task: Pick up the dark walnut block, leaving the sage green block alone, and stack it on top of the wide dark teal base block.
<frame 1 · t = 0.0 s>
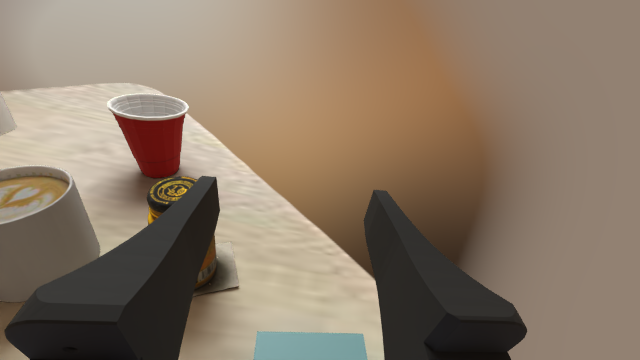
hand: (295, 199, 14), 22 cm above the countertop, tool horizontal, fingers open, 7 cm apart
condiment: (198, 271, 35), on the countertop
plastic cup: (162, 169, 51), on the countertop
coffee mug: (27, 270, 32), on the countertop
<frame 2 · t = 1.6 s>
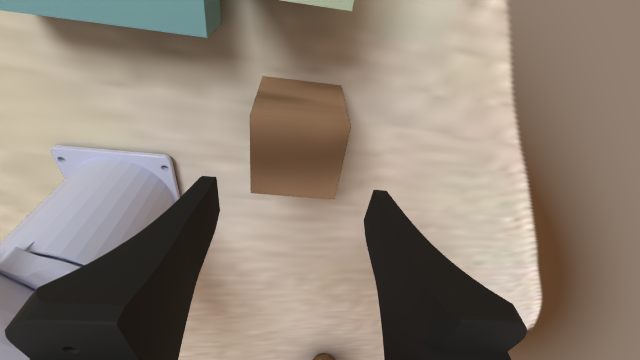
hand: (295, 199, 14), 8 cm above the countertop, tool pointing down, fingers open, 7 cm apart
walnut block: (298, 116, 20), on the countertop
brown round lump: (326, 352, 46), on the countertop
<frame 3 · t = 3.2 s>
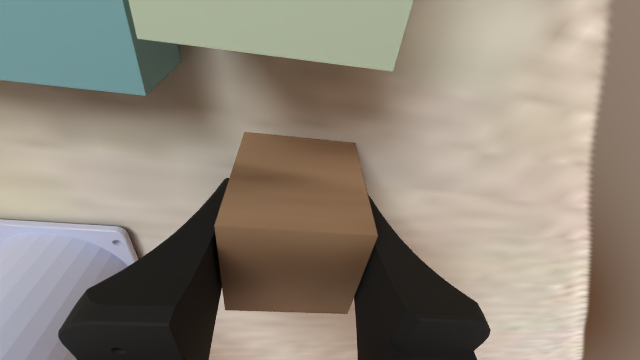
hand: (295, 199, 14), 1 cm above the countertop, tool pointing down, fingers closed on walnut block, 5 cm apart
walnut block: (296, 180, 15), on the countertop, touching gripper
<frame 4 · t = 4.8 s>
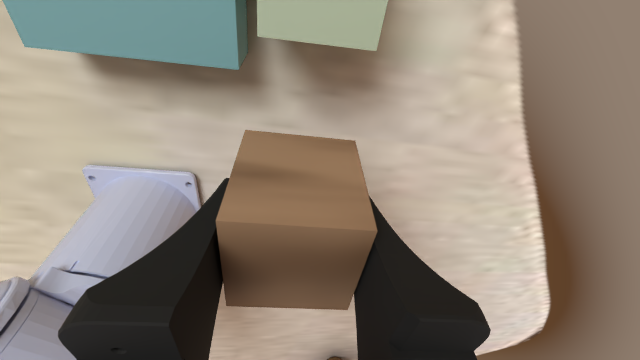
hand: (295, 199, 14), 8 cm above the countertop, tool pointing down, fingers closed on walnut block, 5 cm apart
walnut block: (296, 178, 15), point 7 cm above the countertop, touching gripper
brown round lump: (337, 355, 47), on the countertop
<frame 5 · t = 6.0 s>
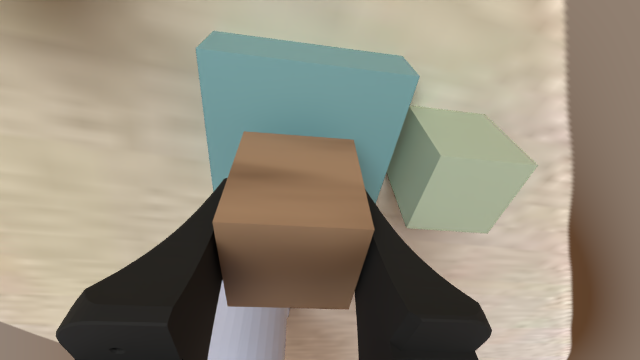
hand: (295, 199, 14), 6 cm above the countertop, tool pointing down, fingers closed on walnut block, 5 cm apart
teal base block: (302, 124, 19), on the countertop
sage block: (431, 143, 20), on the countertop
walnut block: (296, 178, 15), point 5 cm above the countertop, touching gripper
when the fingers open (6 cm above the countertop, at t = 6.7 s): walnut block drops 2 cm, resting on teal base block.
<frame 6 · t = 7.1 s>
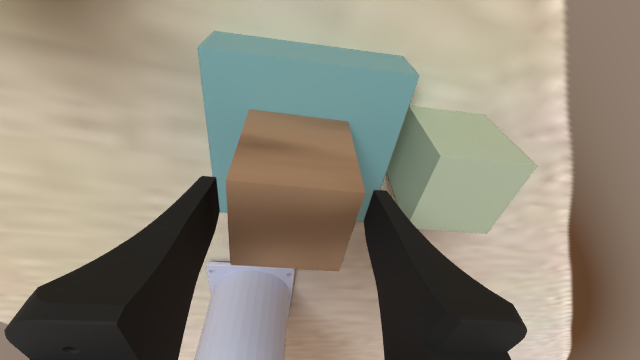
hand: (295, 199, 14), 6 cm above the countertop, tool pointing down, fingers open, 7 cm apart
teal base block: (302, 123, 19), on the countertop, touching walnut block
sage block: (431, 143, 20), on the countertop
walnut block: (294, 156, 16), point 3 cm above the countertop, touching teal base block
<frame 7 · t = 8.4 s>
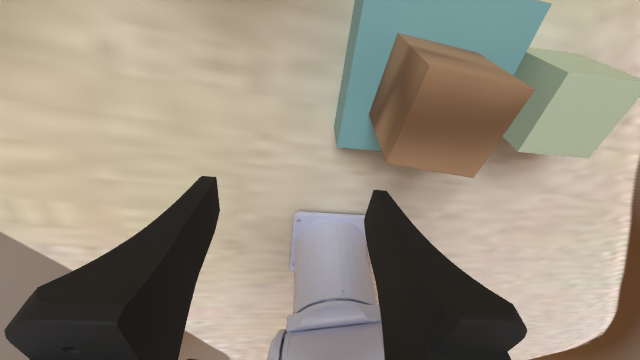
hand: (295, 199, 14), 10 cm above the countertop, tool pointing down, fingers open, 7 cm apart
teal base block: (413, 67, 21), on the countertop, touching walnut block
sage block: (525, 85, 22), on the countertop
walnut block: (419, 85, 18), point 3 cm above the countertop, touching teal base block
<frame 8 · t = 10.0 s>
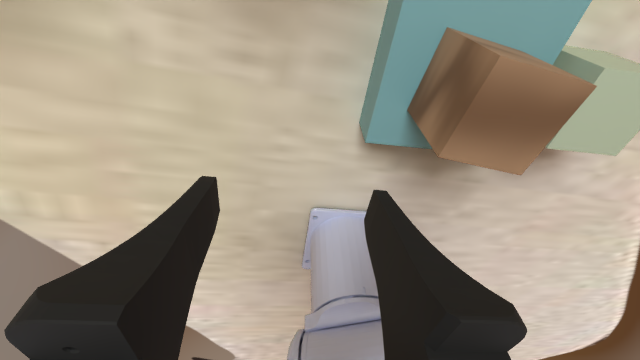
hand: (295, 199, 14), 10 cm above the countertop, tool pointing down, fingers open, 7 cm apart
teal base block: (442, 63, 21), on the countertop
sage block: (550, 82, 22), on the countertop
walnut block: (461, 82, 18), point 3 cm above the countertop
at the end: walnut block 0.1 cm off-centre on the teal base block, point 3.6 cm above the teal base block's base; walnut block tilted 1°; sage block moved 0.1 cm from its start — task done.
